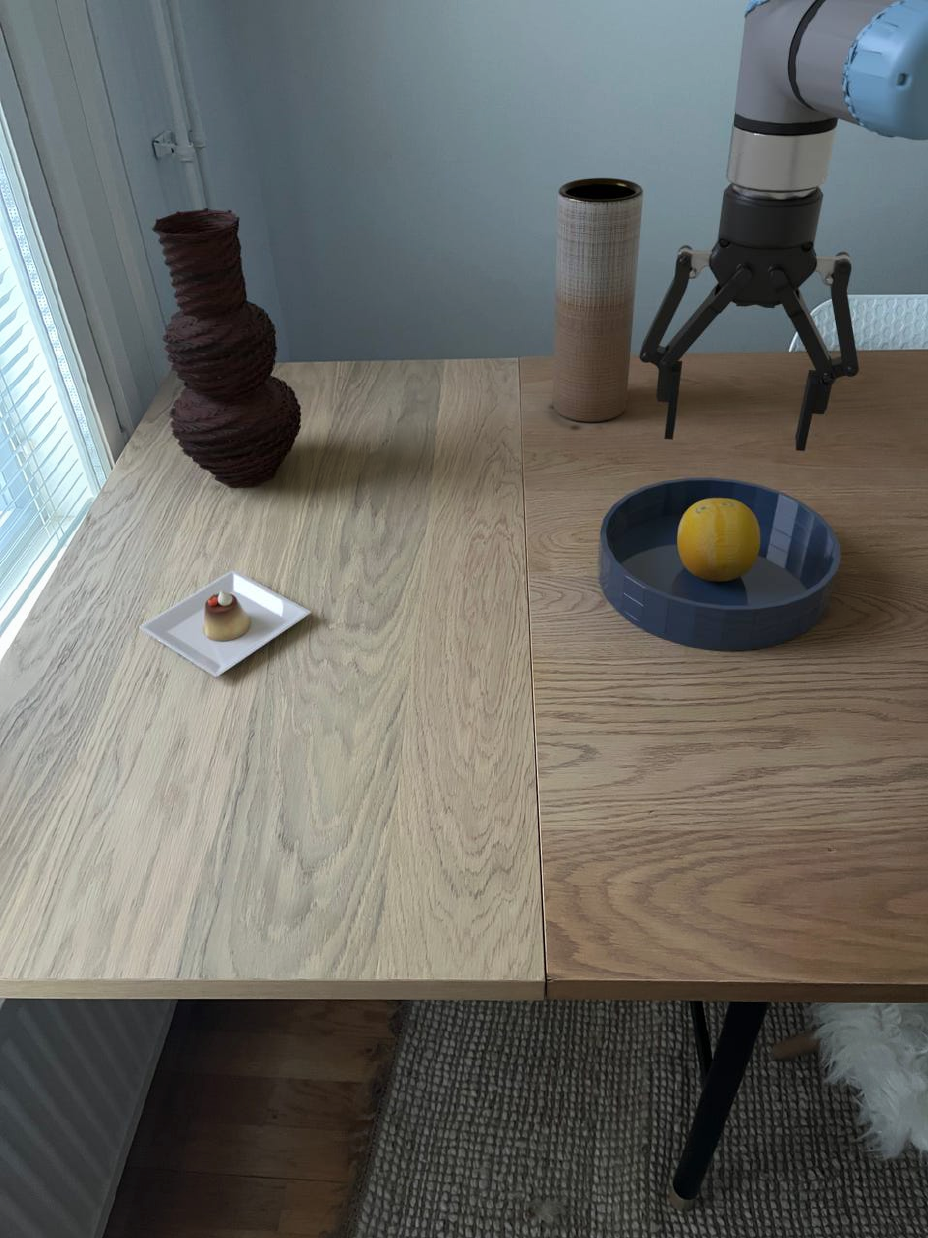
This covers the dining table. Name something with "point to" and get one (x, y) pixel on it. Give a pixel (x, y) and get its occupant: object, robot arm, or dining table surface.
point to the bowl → (707, 610)
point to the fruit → (718, 539)
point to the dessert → (224, 622)
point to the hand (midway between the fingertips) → (733, 438)
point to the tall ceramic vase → (595, 296)
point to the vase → (223, 355)
